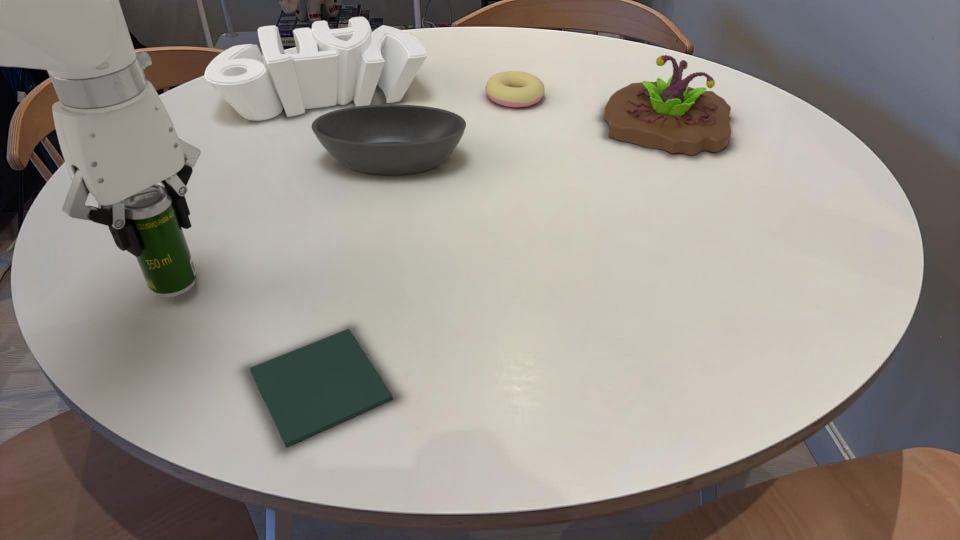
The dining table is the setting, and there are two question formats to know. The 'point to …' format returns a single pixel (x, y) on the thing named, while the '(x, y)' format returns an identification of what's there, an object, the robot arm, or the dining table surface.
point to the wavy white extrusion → (316, 69)
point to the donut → (515, 89)
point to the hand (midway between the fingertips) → (156, 235)
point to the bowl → (390, 137)
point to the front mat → (319, 386)
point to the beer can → (160, 242)
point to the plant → (670, 114)
